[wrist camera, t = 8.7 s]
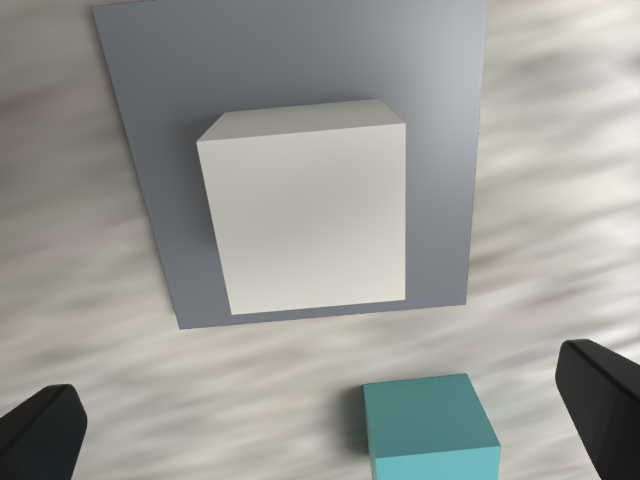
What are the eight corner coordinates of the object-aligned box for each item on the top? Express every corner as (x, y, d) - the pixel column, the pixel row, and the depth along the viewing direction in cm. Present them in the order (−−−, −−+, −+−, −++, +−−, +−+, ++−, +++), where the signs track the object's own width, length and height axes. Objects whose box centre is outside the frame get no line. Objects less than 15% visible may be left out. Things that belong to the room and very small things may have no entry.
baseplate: (456, 288, 23) (465, 304, 21) (187, 311, 23) (179, 329, 21) (475, -27, 17) (490, -32, 15) (108, 8, 17) (91, 5, 15)
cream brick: (381, 237, 20) (405, 299, 15) (248, 249, 20) (231, 314, 15) (378, 98, 17) (405, 123, 12) (224, 112, 17) (196, 141, 12)
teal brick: (462, 444, 28) (492, 523, 23) (368, 453, 28) (380, 534, 24) (465, 372, 25) (501, 445, 21) (362, 382, 25) (375, 458, 21)
